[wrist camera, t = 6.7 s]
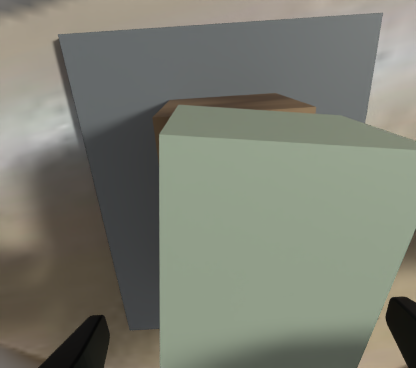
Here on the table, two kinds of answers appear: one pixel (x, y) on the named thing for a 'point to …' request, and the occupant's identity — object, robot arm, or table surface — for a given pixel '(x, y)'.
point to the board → (195, 88)
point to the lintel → (278, 236)
